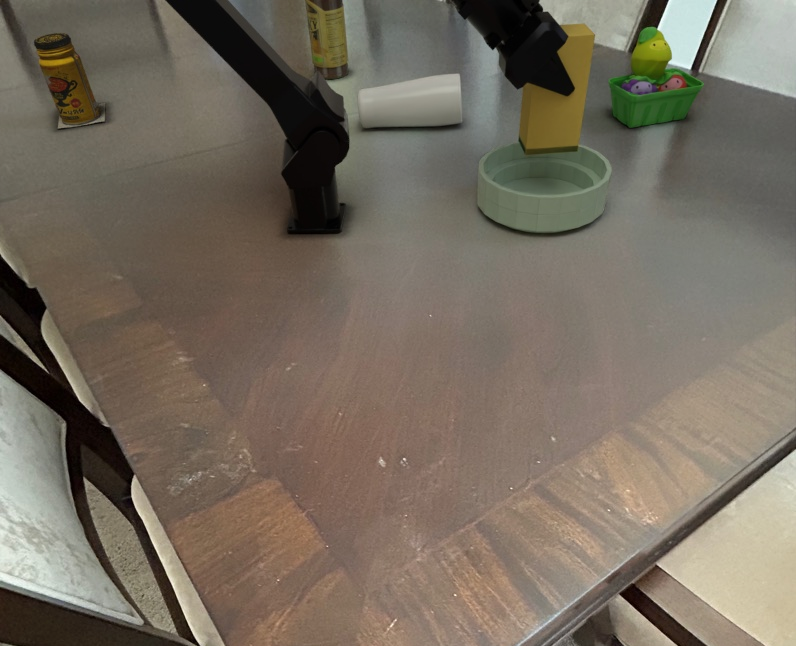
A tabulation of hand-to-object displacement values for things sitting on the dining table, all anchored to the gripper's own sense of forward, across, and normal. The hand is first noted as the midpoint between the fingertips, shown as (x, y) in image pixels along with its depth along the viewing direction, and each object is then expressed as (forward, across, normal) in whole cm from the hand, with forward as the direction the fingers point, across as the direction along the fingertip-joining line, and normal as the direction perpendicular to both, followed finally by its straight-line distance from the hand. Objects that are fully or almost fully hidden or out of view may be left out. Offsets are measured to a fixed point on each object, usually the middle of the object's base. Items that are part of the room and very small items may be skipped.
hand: (566, 85), depth 72 cm
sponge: (+4, 0, +6) cm, 7 cm away
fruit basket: (+24, +24, -4) cm, 34 cm away
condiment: (-38, +40, +58) cm, 80 cm away
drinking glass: (-8, +28, +24) cm, 37 cm away
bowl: (+8, -1, +11) cm, 14 cm away
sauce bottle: (-9, +52, +29) cm, 60 cm away
